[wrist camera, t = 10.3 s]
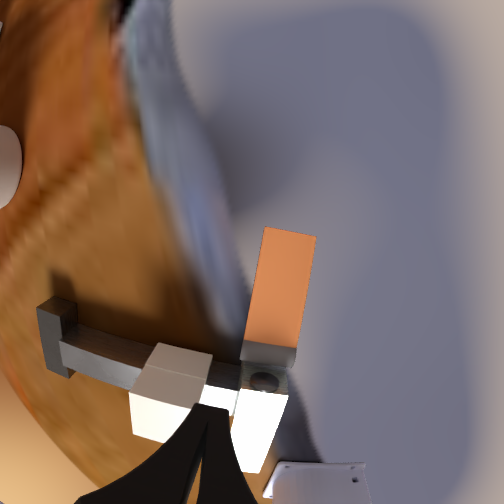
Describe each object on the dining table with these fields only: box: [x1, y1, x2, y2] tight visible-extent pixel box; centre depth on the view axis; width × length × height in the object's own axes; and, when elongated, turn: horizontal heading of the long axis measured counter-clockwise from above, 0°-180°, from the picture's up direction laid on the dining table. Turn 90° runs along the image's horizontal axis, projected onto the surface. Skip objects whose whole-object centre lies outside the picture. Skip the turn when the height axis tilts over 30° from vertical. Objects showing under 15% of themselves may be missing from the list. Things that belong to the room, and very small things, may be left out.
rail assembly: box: [36, 296, 288, 473], centre depth 18 cm, size 18×8×6 cm, turn 80°
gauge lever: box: [240, 227, 316, 368], centre depth 17 cm, size 3×8×1 cm, turn 170°
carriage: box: [129, 342, 213, 443], centre depth 18 cm, size 4×4×6 cm
